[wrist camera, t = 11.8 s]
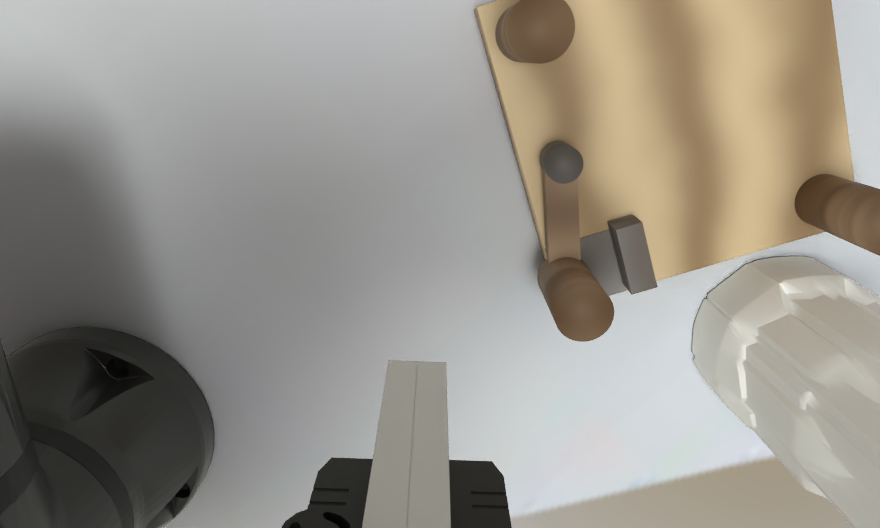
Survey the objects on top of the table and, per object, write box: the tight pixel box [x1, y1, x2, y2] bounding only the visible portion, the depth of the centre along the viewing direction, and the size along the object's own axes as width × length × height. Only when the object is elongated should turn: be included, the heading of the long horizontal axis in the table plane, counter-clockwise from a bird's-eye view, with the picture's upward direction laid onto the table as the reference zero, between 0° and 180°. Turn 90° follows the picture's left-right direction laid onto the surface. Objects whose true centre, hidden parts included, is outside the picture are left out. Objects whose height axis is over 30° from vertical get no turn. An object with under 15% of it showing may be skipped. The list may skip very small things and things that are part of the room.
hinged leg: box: [538, 141, 614, 341], centre depth 35 cm, size 10×3×6 cm, turn 6°
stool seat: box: [474, 0, 880, 296], centre depth 35 cm, size 18×18×9 cm
